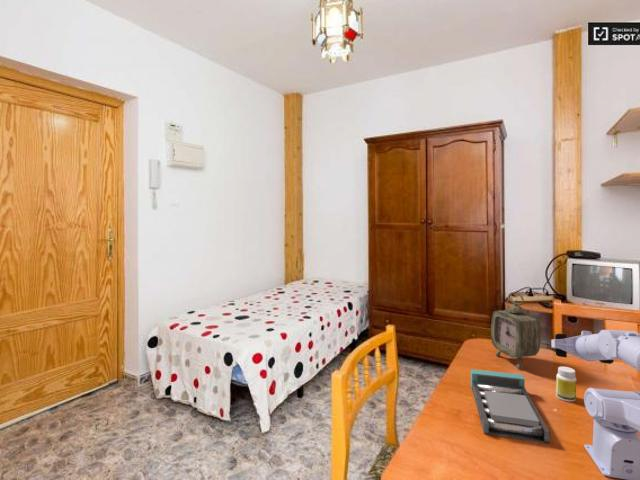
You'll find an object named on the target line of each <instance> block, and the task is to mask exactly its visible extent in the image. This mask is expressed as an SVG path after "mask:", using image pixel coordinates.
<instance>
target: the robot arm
mask: <svg viewBox="0 0 640 480" xmlns="http://www.w3.org/2000/svg"><path fill="white" fill-rule="evenodd" d="M580 333H581V334H580V335H576V336H571V337H567V334H565V333H556V334H555V335H554V338H553V339H550V340H551V341H550V342H551V345H550V346H551V349H552V351H553V352H554V353H555V355H556V356H557V357H561V358H567V356H568V355H567V353H568V354H570V355H572V356H574V357H576V358H578V359H580V360H582V361H586V362H596V361H599V362H600V364H608V365H609V364H610V365H611V364H613V363H614V361H615V360H618V359H619V360H620V361H622V362H623V363H625V364H626V365H628V366H630V367H631V368H633V369H635V370H636V371H637V372H640V333H639V332H637V331H636V330H622V329H620V330H619V329H617V330H615V329H601V330H600V331H599V332H598V333H592V331H589V330H582V331H581V332H580ZM583 402H584V407H585V410H586V411H587V413H588V415H590V417H591V418H592V419H593V431H592V445H591V444H584V446H583V447H584V448H585V450H586V451H587V454H589V456H590V457H591V459H592V460H593V462H594V463H595V465H596V466H597V469H599V471H600V472H601V475H603V476H604V477H609V478H616V479H621V480H640V435H639V434H640V433H639V432H640V391H637V390H633V391H632V390H631V391H629V390H628V391H627V390H616V389H615V390H613V389H601V388H594V387H588V388H587V389H586V391H585V392H584V395H583Z"/></svg>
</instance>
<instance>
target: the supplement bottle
mask: <svg viewBox="0 0 640 480" xmlns="http://www.w3.org/2000/svg"><path fill="white" fill-rule="evenodd" d="M555 376H556V377H555V379H556V380H555V396H556V397H557V399H559V400H562V401H565V402H575V401H576V400H577V399H576V397H577V377H576V370H575V369H574V368H572V367H569V366H558V367H557V374H556V375H555Z"/></svg>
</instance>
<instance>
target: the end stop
mask: <svg viewBox="0 0 640 480" xmlns="http://www.w3.org/2000/svg"><path fill="white" fill-rule="evenodd" d="M525 380H526V379H525V377H524V376H523V374H519V373H510V372H501V371H491V370H482V369H480V370H479V369H474V368H473V369H472V368H471V369H470V387H471V389H472V382H473V381H476V382H477V384H484V385H493V386H501V387H510V388H518V389H520V386H524V387H525V382H526V381H525Z"/></svg>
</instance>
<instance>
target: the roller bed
mask: <svg viewBox="0 0 640 480" xmlns="http://www.w3.org/2000/svg"><path fill="white" fill-rule="evenodd" d="M471 390H472V393H473V397H474V402H475V405H476V409H477V412H478V417H479V421H480V424H481V425H480V426H481V427H482V432H483V435H489V436H490V435H491V436H497V437H502V438H503V437H504V438H508V439H509V438H510V439H516V440H523V441H529V442H537V443H541V444H550V433H551V432H550V430H549V429H548V426H547V424H546V423H545V421H544V419H543V417H542V416H541V414H540V413H539V411H538V408H537V407H536V405H535V404H534V401H533V400H532V398H531V397H530V394H529V393H528V391H527V389H526V387H525V386H520V389H518V388H510V387H501V386H493V385H484V384H477V382H476V381H473V382H472V388H471ZM484 391H492V392H500V393H509V394H517V395H525V396H526V398H527V400H528V402H529V403H530V405H531V407H532V409H533V411H534V413H535V415H536V416H537V418H538V420H539V427H535V426H528V425H521V424H514V423H507V422H500V421H493V420H492V419H491V415H490V412H489V409H488V406H487V403H486V400H485V396H484Z"/></svg>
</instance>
